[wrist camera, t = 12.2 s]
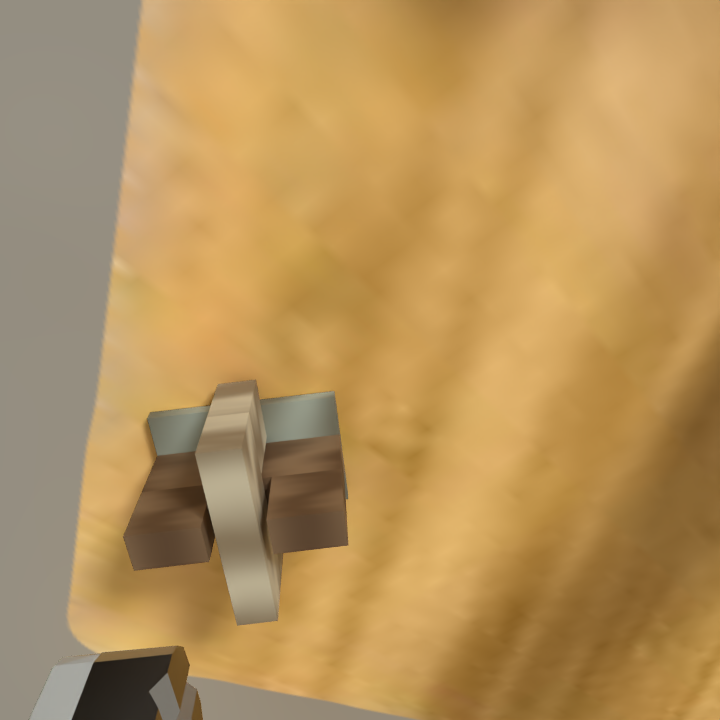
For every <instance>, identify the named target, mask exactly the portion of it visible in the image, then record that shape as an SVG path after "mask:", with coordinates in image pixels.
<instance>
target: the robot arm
mask: <svg viewBox="0 0 720 720" xmlns="http://www.w3.org/2000/svg"><path fill="white" fill-rule="evenodd" d="M189 666H190V664H189V661H188V659H187V656H186V653H185V650H184V647H181V646H169V647H158V648H147V649H136V650H125V651H114V652H103V653H99V654H90V655H79V656H68V657H62V658H61V659H60V660H59V661H58V662H57V664H55V666H54V667H53V668H52V669H51V671H50V674H49V676H48V678H47V680H46V683H45V685H44V687H43V689H42V691H41V693H40V696H39V698H38V700H37V703H36V704H35V707H34V709H33V711H32V713H31V715H30V718H29V720H203V717H202V709H201V702H200V698H199V695H198V691H197V689H196V688H194V687H193V686H191V685H190V684H189V683H187V682H186V680H187V676H188V671H189Z"/></svg>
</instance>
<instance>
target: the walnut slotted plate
mask: <svg viewBox="0 0 720 720" xmlns="http://www.w3.org/2000/svg"><path fill="white" fill-rule="evenodd" d="M260 404H261V409H262V414H263V420H264V425H265V430H266V435H267V439H266V446H265V453H264V459H263V466H262V473H261V475H262V480H263V485H264V490H265V495H266V500H267V505H268V512H267V525H268V530H269V535H270V540H271V545H272V549H273V554H279V553H288V552H296V551H305V550H313V549H322V548H330V547H339V546H347V545H348V532H347V515H346V499H348V490H347V483H346V475H345V468H344V460H343V453H342V445H341V438H340V430H339V423H338V415H337V407H336V400H335V392H334V391H332V392H323V393H314V394H306V395H297V396H289V397H280V398H271V399H263V400H260ZM209 409H210V406H202V407H193V408H185V409H176V410H168V411H159V412H150V414H149V416H148V418H147V419H148V423H149V427H150V430H151V434H152V438H153V441H154V445H155V449H156V452H157V458H156V460H155V463H154V465H153V467H152V470H151V472H150V474H149V477H148V479H147V481H146V484H145V486H144V489H143V491H142V493H141V496H140V498H139V500H138V503H137V505H136V507H135V510H134V512H133V514H132V517H131V519H130V522H129V524H128V526H127V529H126V531H125V533H124V536H123V538H124V541H125V544H126V547H127V550H128V553H129V556H130V559H131V563H132V566H133V569H134V571H135V570H143V569H152V568H160V567H169V566H177V565H186V564H194V563H203V562H209V560H210V556H211V552H212V547H213V543H214V538H215V533H214V529H213V525H212V521H211V517H210V513H209V509H208V505H207V501H206V497H205V493H204V489H203V485H202V481H201V477H200V473H199V469H198V465H197V460H196V456H195V452H196V449H197V446H198V443H199V440H200V437H201V434H202V431H203V428H204V425H205V421H206V418H207V415H208V412H209Z"/></svg>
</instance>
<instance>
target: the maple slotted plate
mask: <svg viewBox="0 0 720 720" xmlns="http://www.w3.org/2000/svg"><path fill="white" fill-rule="evenodd" d="M266 439H267V435H266V430H265V425H264V420H263V414H262V409H261V404H260V399H259V393H258V388H257V383H256V380H249V381H241V382H232V383H224V384H218V385H217V388H216V391H215V394H214V397H213V400H212V403H211V406H210V409H209V412H208V415H207V418H206V421H205V425H204V428H203V431H202V434H201V437H200V440H199V443H198V446H197V449H196V452H195V456H196V460H197V465H198V469H199V473H200V477H201V481H202V485H203V489H204V493H205V497H206V501H207V505H208V509H209V513H210V517H211V521H212V525H213V529H214V533H215V537H216V541H217V545H218V549H219V553H220V558H221V562H222V566H223V570H224V574H225V578H226V582H227V586H228V590H229V594H230V598H231V602H232V606H233V610H234V614H235V618H236V622H237V625H246V624H254V623H263V622H271V621H278V612H279V599H280V586H281V573H282V561H283V553H279V554H273V549H272V545H271V540H270V535H269V530H268V525H267V512H268V505H267V500H266V495H265V490H264V485H263V480H262V475H261V473H262V466H263V459H264V453H265V446H266Z"/></svg>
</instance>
